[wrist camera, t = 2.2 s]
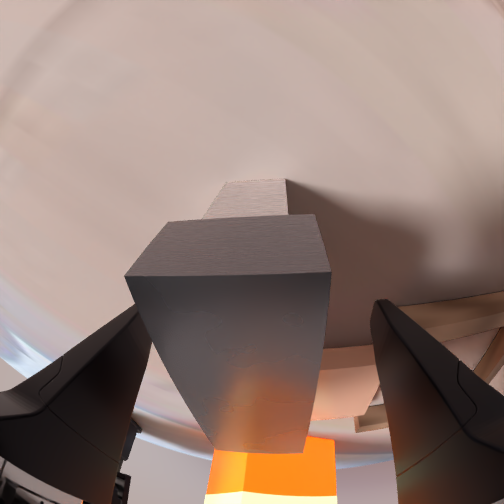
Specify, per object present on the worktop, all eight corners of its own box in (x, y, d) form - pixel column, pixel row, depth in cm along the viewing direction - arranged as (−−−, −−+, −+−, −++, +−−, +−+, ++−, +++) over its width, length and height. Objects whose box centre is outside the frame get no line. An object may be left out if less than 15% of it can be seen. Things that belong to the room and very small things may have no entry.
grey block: (237, 334, 13) (216, 450, 8) (210, 175, 9) (124, 275, 4) (299, 333, 12) (302, 453, 7) (299, 169, 9) (332, 271, 3)
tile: (274, 399, 16) (272, 421, 15) (269, 344, 13) (267, 372, 12) (360, 393, 16) (364, 414, 14) (381, 336, 13) (389, 362, 11)
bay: (353, 415, 17) (355, 432, 15) (395, 307, 11) (406, 331, 10) (467, 388, 15) (472, 402, 14) (529, 285, 10) (541, 300, 8)
